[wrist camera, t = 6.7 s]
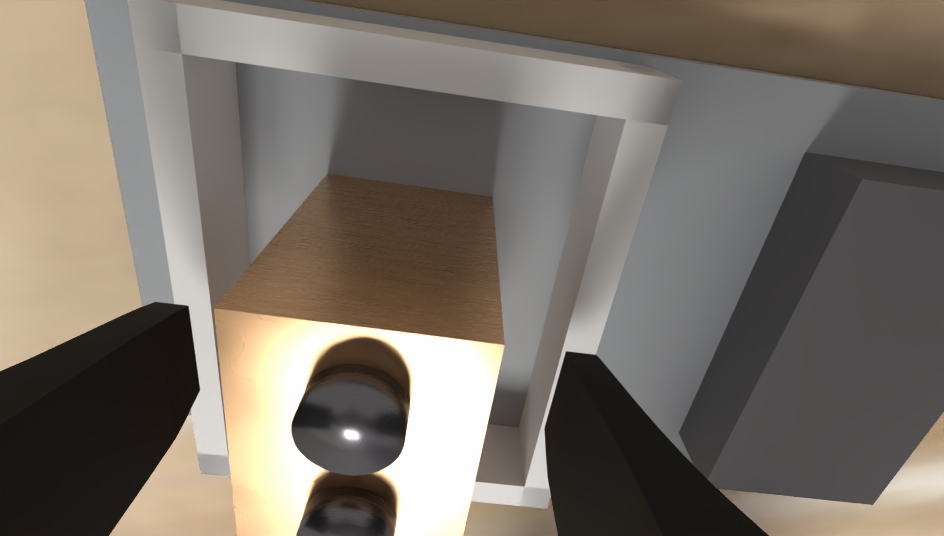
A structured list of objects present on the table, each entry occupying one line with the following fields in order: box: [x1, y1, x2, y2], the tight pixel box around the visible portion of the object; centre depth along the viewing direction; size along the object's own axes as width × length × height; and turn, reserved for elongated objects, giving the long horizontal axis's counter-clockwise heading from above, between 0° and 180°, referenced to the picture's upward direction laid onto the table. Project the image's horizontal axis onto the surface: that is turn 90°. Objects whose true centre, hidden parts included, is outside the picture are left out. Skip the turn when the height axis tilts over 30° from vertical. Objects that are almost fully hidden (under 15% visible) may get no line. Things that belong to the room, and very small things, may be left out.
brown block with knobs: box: [214, 173, 505, 536], centre depth 11 cm, size 4×6×7 cm
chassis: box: [84, 0, 944, 509], centre depth 13 cm, size 22×12×3 cm, turn 82°
